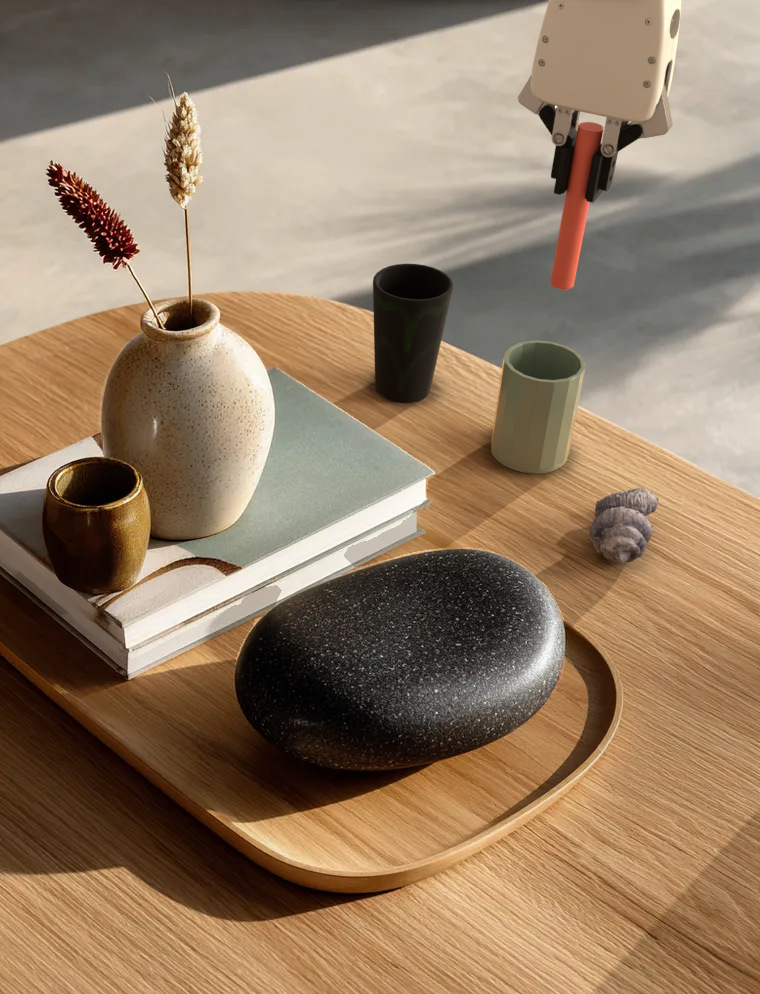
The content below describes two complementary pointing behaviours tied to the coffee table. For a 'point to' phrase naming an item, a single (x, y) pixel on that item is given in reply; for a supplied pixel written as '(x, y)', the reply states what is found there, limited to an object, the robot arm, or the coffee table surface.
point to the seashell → (623, 524)
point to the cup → (408, 328)
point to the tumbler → (537, 406)
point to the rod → (575, 206)
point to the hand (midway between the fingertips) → (579, 190)
